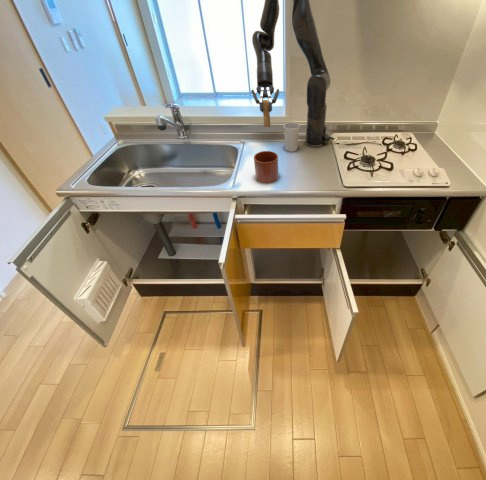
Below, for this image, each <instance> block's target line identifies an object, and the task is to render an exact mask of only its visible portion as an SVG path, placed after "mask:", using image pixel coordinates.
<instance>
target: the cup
mask: <svg viewBox="0 0 486 480" xmlns="http://www.w3.org/2000/svg"><path fill="white" fill-rule="evenodd" d="M300 126H301V125H300V124H299V123H298V122H294V121H291V122H286V123H284V124H283V135H284V146H285V147H284V148H285V151H287V152H292V153H293V152H296V151H297V150H298V148H299V147H298V145H299V136H300V128H301V127H300Z"/></svg>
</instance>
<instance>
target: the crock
mask: <svg viewBox="0 0 486 480" xmlns="http://www.w3.org/2000/svg"><path fill="white" fill-rule="evenodd" d="M253 164H254V174H255V180H256V181H257V182H258V183H261V184H273V183H275V182H276V181H278V180H279V174H280V173H279V156H278V153H276V152H274V151H270V150H265V151H264V150H261V151H259V152H256V153H255V154H254V156H253Z"/></svg>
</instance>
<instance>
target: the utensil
mask: <svg viewBox="0 0 486 480" xmlns="http://www.w3.org/2000/svg"><path fill="white" fill-rule="evenodd" d="M262 104H263V112H262V116H263V117H262V118H263V127H264V128H270V127H271V114H270V113H271V112H269V99H263V101H262Z"/></svg>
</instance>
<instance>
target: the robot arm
mask: <svg viewBox="0 0 486 480" xmlns="http://www.w3.org/2000/svg"><path fill="white" fill-rule="evenodd" d="M263 3H264V4H263V7H262V8H263V10H262V12H261V16H260V22H259V26H260V30H255V31H254V32H253V34H252V37H251V41H252V42H251V43H252V48H253V50H254V53H255V56H256V89H252V90H251V96H252V97H253V100H254V102H255V103H256V104H257V105H259V111H260V112H261V113H263V104H262V101H263V100H264V99H265V98H266V99H267V100H269V112H270V113H271V112H272V111H273V104H276V102H277V100H278V97H279V95H280V89H279V88H277V89H276V88H275V87H274V80H273V79H274V77H273V76H274V75H273V66H272V65H273V64H272V55H271V53H270V52H271V51H272V50H273V49H274V47H275V31H276V27H277V23H278V20H279V16H280V2H279V0H264V2H263ZM291 27H292V31H293V34H294V37H295V40H296V43H297V46H298V47H299V49H300V51H301V53H302V54H303V56H304V58H305V59H306V62H307V64H308V67H309V71H310V76H309V78H308V80H307V84H306V105H307V113H306V114H307V115H306V131H305V135H306V136H305V144H306V146H308V147H310V148H311V147H312V148H319V147H322V146H324V145H325V143H329V142H330V140H332V141H334V139H336V138H334V137H332V136H329V134H328V133H326V132H327V126H326V117H327V108H328V107H327V106H328V104H327V103H326V98H327V91H328V90H329V88H330V86H331V76H330V72H329V70H328V67H327V65H326V62H325V59H324V55H323V51H322V47H321V46H322V45H321V42H320V39H319V35H318V29H317V26H316V21H315V18H314V14H313V11H312V6H311V3H310V0H292V10H291ZM257 94H258V95H259V98H258V96H257ZM273 94H274V96H273V97H272V95H273Z"/></svg>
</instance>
